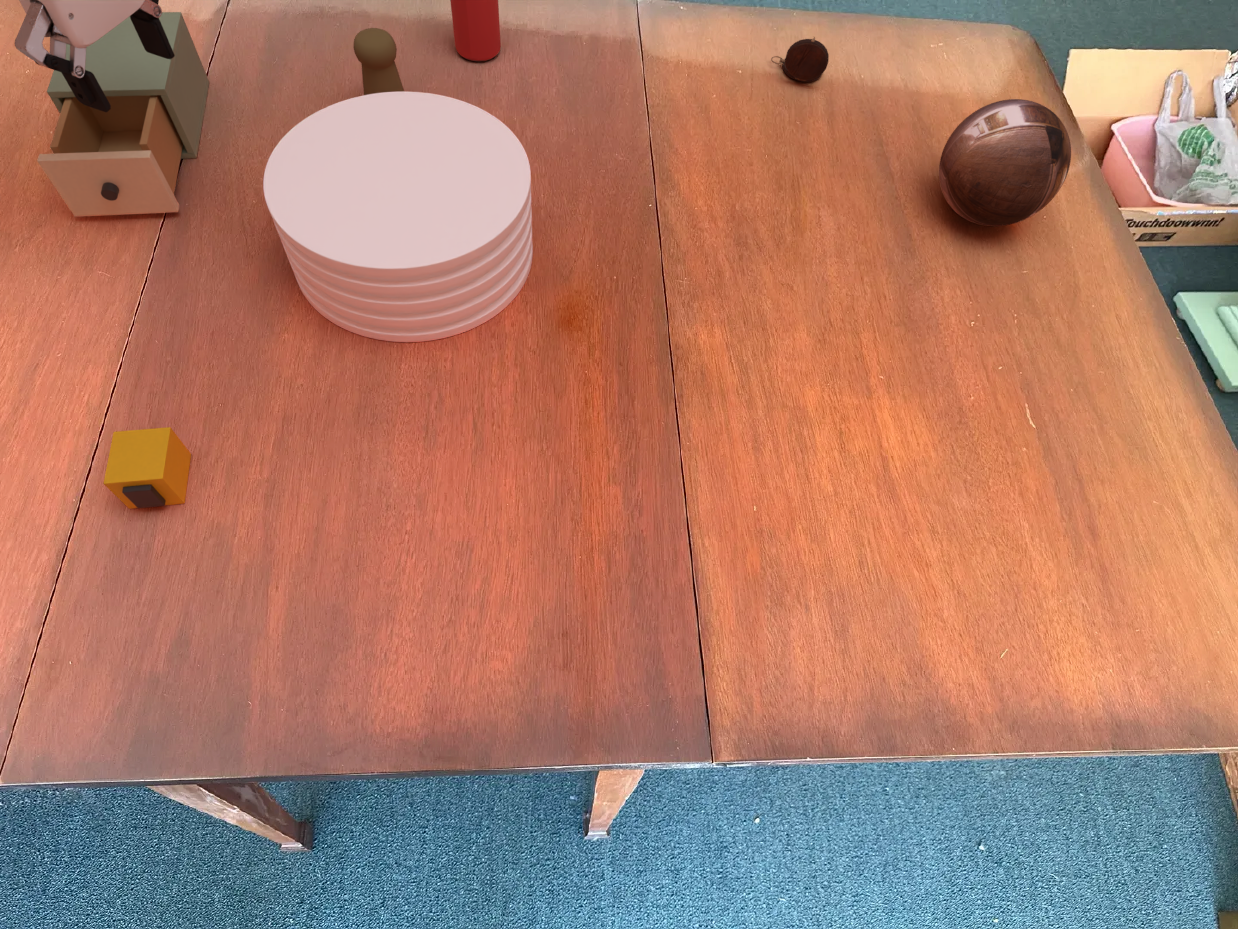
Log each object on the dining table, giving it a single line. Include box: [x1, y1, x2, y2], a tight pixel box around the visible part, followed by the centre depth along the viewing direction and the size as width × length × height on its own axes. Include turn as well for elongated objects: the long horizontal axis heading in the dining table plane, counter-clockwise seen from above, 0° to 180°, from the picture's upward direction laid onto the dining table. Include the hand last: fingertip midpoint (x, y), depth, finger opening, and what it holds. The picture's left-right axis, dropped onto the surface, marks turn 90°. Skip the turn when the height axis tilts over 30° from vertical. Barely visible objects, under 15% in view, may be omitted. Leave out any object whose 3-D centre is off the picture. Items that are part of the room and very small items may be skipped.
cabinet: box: [46, 11, 210, 160], centre depth 97 cm, size 16×13×10 cm
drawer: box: [36, 95, 183, 218], centre depth 92 cm, size 16×11×8 cm
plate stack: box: [262, 91, 534, 343], centre depth 89 cm, size 28×28×12 cm
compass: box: [770, 36, 830, 83], centre depth 115 cm, size 8×8×7 cm
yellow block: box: [103, 426, 192, 510], centre depth 73 cm, size 5×6×5 cm
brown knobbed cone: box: [353, 27, 405, 95], centre depth 101 cm, size 6×6×11 cm
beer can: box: [449, 0, 502, 62], centre depth 109 cm, size 7×7×12 cm
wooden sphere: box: [938, 98, 1072, 227], centre depth 99 cm, size 15×15×15 cm
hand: (129, 79), depth 79 cm, fingers open, 9 cm apart
